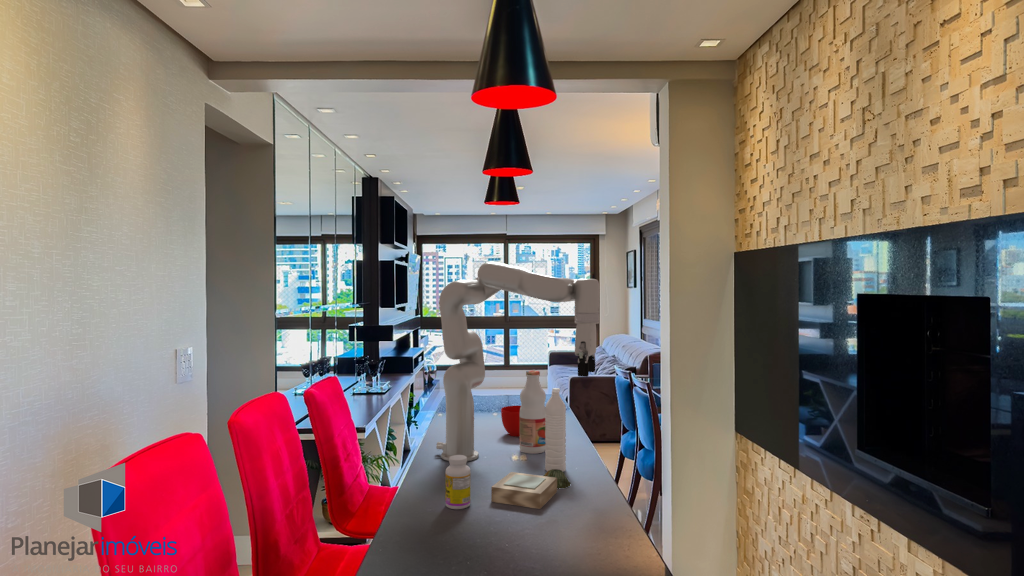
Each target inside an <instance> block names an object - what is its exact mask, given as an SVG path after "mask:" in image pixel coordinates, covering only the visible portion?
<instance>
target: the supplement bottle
mask: <svg viewBox="0 0 1024 576" xmlns="http://www.w3.org/2000/svg"><path fill="white" fill-rule="evenodd" d="M448 463H449V466H447V467H446V469H445V475H444V476H445V485H444V486H445V488H444V489H445V497H444V498H445V506H446V507H447V508H448V509H451V510H464V509H466V508H468V507H470V505H471V498H472V497H471V468H470V466H469V465H467V463H468V461H467V457H466V456H464V455H454V456H450V457H449V461H448Z"/></svg>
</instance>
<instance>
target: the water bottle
mask: <svg viewBox="0 0 1024 576" xmlns="http://www.w3.org/2000/svg"><path fill="white" fill-rule="evenodd" d="M560 392H561V389H560V388H558V387H553V388H551V397H550V398H549V399H548V400H547V402H546V403H545V413H546V414H545V416H546V417H545V421H546V422H545V426H546V427H545V429H546V430H545V437H546V438H545V443H546V444H545V449H546V450H545V456H544V459H545V462H544V469H545V471H546V472H548V471H549V470H552V469H559V470H562V471H563V472H566V469H567V465H566V461H567V460H566V458H567V457H566V455H567V453H566V451H567V448H566V445H567V444H566V442H567V439H566V436H567V432H566V431H567V428H566V427H567V422H566V421H567V419H566V418H567V417H566V414H567V408H566V404H565V402H564V400H563V399H562V397H561V394H560Z"/></svg>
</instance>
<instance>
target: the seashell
mask: <svg viewBox="0 0 1024 576" xmlns="http://www.w3.org/2000/svg"><path fill="white" fill-rule="evenodd" d="M564 472H565V471H564ZM564 472H563V471H562V470H559V469H552V470H549V471H546V472H545V473H544V474H543V475H542V476H547V477H555V478H557V488H558V489H557V490H560V489H559V488H564V489H567V488H566V487H568V486H570V484H571V485H572V483H571V481H570V480H569V479H568V477H567V476H566V474H565V473H564ZM570 487H571V486H570ZM568 488H569V487H568Z"/></svg>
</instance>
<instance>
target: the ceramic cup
mask: <svg viewBox="0 0 1024 576" xmlns="http://www.w3.org/2000/svg"><path fill="white" fill-rule="evenodd" d="M520 407H521V405H508V406H503V407H501V410H500V415H501V417H500V418H501V423H502V426H503V428H504V430H505V431H506V432H507V434H508V435H509V436H511V437H519V438H520Z"/></svg>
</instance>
